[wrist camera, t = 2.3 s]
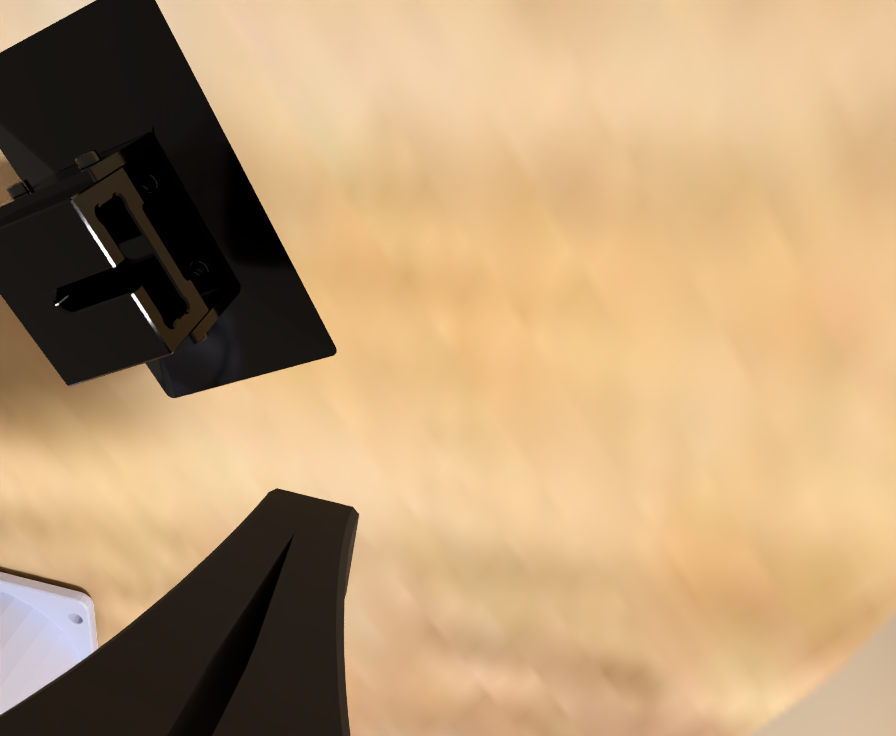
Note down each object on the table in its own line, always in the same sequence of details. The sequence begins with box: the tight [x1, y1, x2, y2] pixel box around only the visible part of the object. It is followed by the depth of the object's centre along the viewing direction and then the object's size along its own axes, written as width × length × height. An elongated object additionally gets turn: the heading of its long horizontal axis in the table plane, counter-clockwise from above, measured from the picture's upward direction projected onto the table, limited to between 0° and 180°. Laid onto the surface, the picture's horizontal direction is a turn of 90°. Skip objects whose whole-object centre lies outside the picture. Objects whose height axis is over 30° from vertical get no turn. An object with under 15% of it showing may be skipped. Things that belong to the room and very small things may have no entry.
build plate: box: [0, 0, 337, 398], centre depth 18 cm, size 12×7×5 cm, turn 22°
